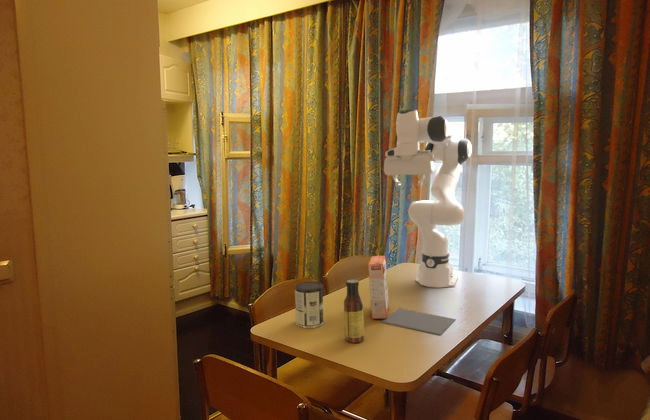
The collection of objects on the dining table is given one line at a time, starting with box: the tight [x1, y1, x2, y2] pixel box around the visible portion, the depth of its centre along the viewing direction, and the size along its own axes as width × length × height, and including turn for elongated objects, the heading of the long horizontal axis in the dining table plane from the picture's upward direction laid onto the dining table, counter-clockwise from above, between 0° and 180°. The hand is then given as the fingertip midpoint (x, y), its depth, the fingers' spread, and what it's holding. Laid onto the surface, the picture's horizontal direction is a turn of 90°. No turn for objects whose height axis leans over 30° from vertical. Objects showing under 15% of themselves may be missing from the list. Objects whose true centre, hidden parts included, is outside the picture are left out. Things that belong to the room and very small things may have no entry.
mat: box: [380, 307, 456, 336], centre depth 157 cm, size 16×22×1 cm
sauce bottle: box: [343, 279, 365, 344], centre depth 141 cm, size 6×6×20 cm
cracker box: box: [367, 255, 390, 320], centre depth 164 cm, size 14×6×21 cm, turn 168°
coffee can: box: [294, 281, 325, 329], centre depth 156 cm, size 10×10×14 cm
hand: (408, 186), depth 171 cm, fingers open, 8 cm apart
